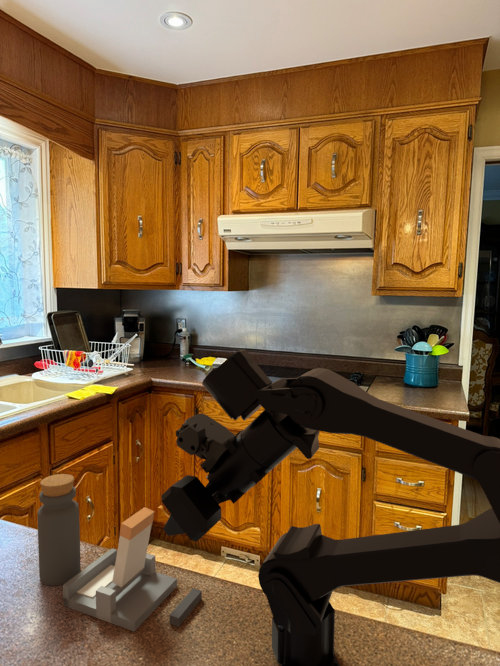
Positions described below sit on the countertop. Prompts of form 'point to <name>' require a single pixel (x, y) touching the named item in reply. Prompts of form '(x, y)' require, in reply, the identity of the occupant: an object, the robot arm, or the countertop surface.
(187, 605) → the long grey bar
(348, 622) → the countertop surface
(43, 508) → the bottle
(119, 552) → the lever
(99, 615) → the grey twin-post base
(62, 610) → the countertop surface
